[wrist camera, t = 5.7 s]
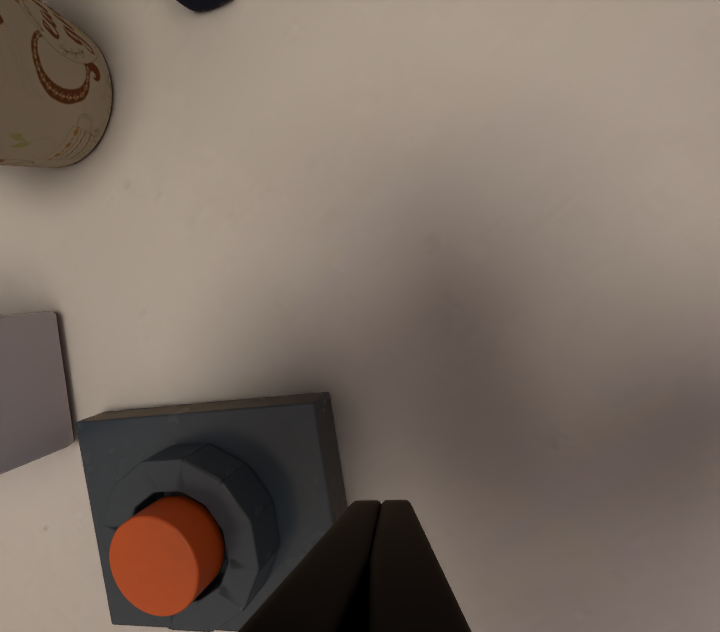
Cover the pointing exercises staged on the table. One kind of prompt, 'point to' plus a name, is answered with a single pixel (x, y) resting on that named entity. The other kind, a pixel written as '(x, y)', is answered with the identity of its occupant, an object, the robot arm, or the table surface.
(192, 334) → the table surface
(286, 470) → the box
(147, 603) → the button
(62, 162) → the mug
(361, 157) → the table surface
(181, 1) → the eraser
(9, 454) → the soap bottle
